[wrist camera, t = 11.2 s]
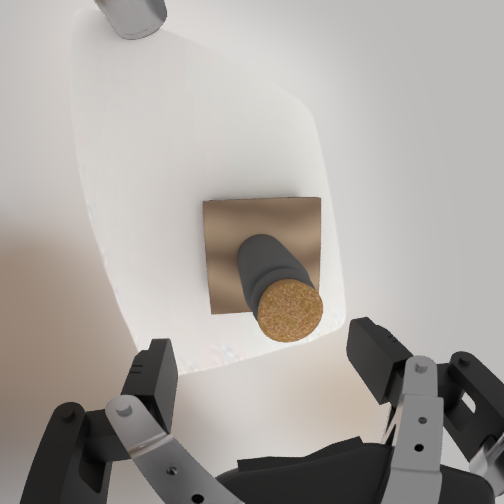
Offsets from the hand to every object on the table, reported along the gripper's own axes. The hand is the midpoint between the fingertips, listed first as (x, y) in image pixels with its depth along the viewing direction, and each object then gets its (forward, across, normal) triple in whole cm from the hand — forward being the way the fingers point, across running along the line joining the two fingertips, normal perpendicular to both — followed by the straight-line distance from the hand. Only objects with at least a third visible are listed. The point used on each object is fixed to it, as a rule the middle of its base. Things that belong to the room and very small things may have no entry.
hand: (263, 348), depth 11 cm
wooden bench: (+31, -4, +3) cm, 31 cm away
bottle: (+22, -3, +2) cm, 22 cm away
